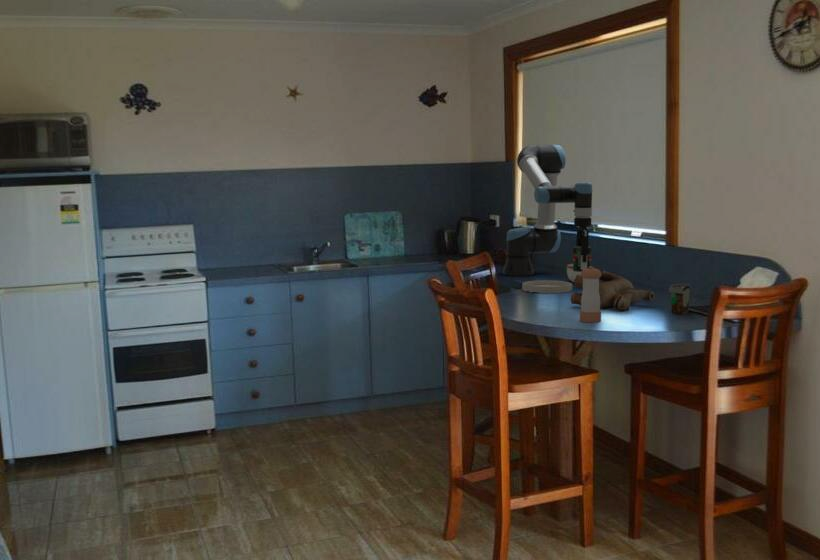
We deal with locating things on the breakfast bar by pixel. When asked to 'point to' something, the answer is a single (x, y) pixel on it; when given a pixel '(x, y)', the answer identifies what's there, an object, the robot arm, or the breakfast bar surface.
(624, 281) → the stuffed animal
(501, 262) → the breakfast bar surface
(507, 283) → the breakfast bar surface
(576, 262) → the canned tomato
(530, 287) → the round tray
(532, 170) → the robot arm
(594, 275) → the pepper shaker
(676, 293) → the food container
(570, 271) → the lidded jar
